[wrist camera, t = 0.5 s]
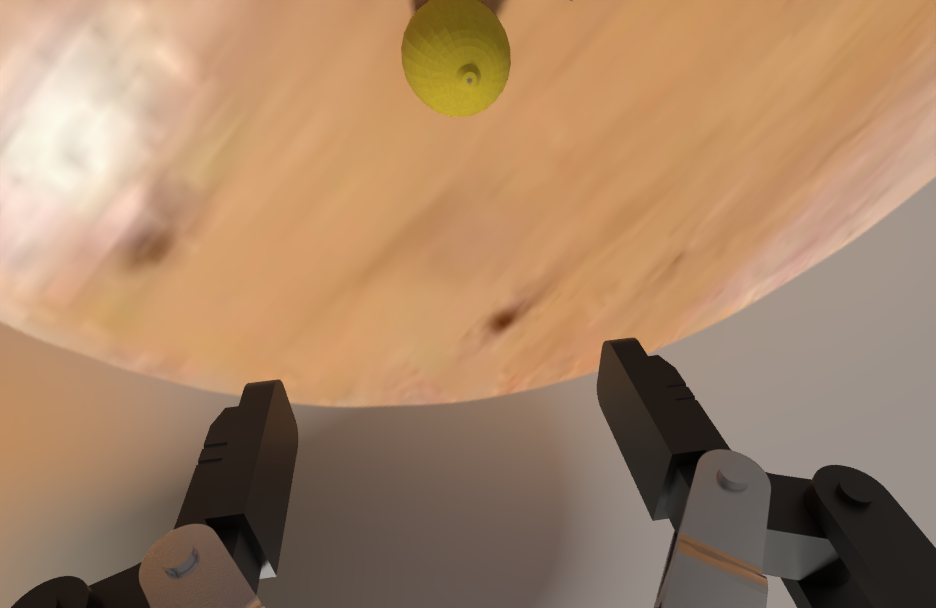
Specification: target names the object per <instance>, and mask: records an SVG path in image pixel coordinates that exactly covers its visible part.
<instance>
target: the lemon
mask: <svg viewBox="0 0 936 608" xmlns="http://www.w3.org/2000/svg"><path fill="white" fill-rule="evenodd" d="M401 50H402V65H403V69H404V72H405V76H406V79H407V81H408V83H409V85H410V86H411V88H412V90H413V92H414V93H415V94H416V96H417V97H418V98H419V99H420V100H421V101H422V102H423V103H424V104H425V105H427V106H428V107H430V108H431V109H433V110H435V111H436V112H438V113H441V114H444V115H448V116H451V117H466V116H471V115H475V114H477V113H479V112H481V111H483V110H485V109H486V108H488V107H489V106H490V105H491V104H492V103H493V102H495V101H496V99H497V98H498V97H499V95H500V94H501V92H502V91H503V89H504V87H505V84H506V82H507V80H508V75H509V70H510V65H511V61H510V46H509V42H508V39H507V35H506V32H505V30H504V28H503V26H502V25H501V23H500V21H499V19H498V18H497V16H496V15H495V14H494V13H493V12H492V11H491V10H490V9H489V8H488V7H487V6H486V5H485V4H483V3H481V2H479V1H477V0H430V1H428V2H427V3H426V4H424V5H423V6H422V7H420V8H419V9H418V11H417V12H416V13H415V14H414V16H413V17H412V18H411V19H410V21H409V24H408V26H407V28H406V30H405V32H404V37H403V42H402V49H401Z"/></svg>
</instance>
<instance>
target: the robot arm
mask: <svg viewBox="0 0 936 608" xmlns="http://www.w3.org/2000/svg"><path fill="white" fill-rule="evenodd" d="M597 395H598V400H599V404H600V407H601V409H602V412H603V414H604V416H605V418H606V420H607V423H608V425H609V427H610V429H611V431H612V433H613V435H614V438H615V440H616V442H617V444H618V446H619V449H620V451H621V453H622V455H623V457H624V459H625V462H626V464H627V466H628V468H629V470H630V472H631V475H632V477H633V479H634V481H635V483H636V485H637V488H638V490H639V492H640V494H641V496H642V499H643V501H644V503H645V505H646V507H647V509H648V511H649V514H650V516H651V518H652V520H653V521H654V520H661V519H668V518H669V519H670V521H671V523H672V526H673V527H674V530H675V531H674V533H673V537H672V541H671V544H670V548H669V552H668V556H667V559H666V563H665V567H664V571H663V575H662V578H661V582H660V586H659V590H658V593H657V597H656V601H655V605H654V608H766V604H767V594H768V581H767V578H766V577H765V576H763V575H762V574H765V575H771V576H776V577H781V579H782V581H783V583H784V585H785V586H786V588H787V590H788V592H789V594H790V595H791V597H792V599H793V601H794V602H795V604H796V606H797V608H936V548H935V547H934V546H933V544H932V543H931V542H930V541H929V540H928V538H926V536H925V535H924V534H923V532H922V531H921V530H920V529H919V528H918V526H917V525H916V524H915V523H914V522H913V521H912V519H911V518H910V517H909V516H908V515H907V513H906V512H905V511H904V510H903V508H902V507H901V506H900V505H899V504H898V502H897V501H896V500H895V499H894V498H893V496H892V495H891V494H890V493H889V492H888V491H887V490H886V488H884V486H883V485H881V484H880V483H879V482H878V481H877V480H875V479H874V478H872V477H871V476H869V475H867V474H865V473H863V472H861V471H859V470H857V469H854V468H851V467H847V466H841V465H829V466H825V467H822V468H820V469H819V470H818V471H817V472H816V473H815V475H814V477H813V479H812V480H811V479H804V478H797V477H790V476H783V475H775V474H771V473H767V472H765V471H764V470H763V469H762V468H761V467H760V466H759V465H758V464H757V463H756V462H755V461H753V460H752V459H750V458H749V457H747V456H745V455H743V454H741V453H738V452H735V451H732V450H731V449H730V448H729V447H728V445H727V444H726V442H725V441H724V439H723V438H722V437H721V435H720V433H719V432H718V430H717V429H716V427H715V426H714V424H713V423H712V422H711V420H710V419H709V417H708V416H707V414H706V413H705V411H704V410H703V408H702V407H701V405H700V404H699V402H698V401H697V400H695V396H694V395H693V393H692V392H691V391H690V389H689V388H688V387H686V383H685V381H684V380H683V379H682V377H681V376H680V374H679V373H678V371H677V370H676V368H675V367H673V366H672V365H671V364H669V363H668V362H667V361H665V360H664V359H663V358H661V357H660V356H659V355H654V356H647V354H646V352H645V351H644V349H643V348H642V346H641V345H640V343H639V341H638V340H637V339H636V338H625V339H617V340H609V341H605V342H604V343H603V346H602V352H601V359H600V366H599V373H598V380H597ZM297 449H298V429H297V424H296V420H295V417H294V414H293V412H292V409H291V406H290V403H289V400H288V397H287V394H286V391H285V388H284V386H283V383H282V382H281V380H271V381H262V382H254V383H248V384H246V386H245V387H244V390H243V394H242V397H241V400H240V403H239V406H237V407H229V408H225V409H224V410H223V412H222V413H221V414H220V415H219V416H218V417H217V419H216V420H215V421H214V422H213V423H212V425H211V426H210V428H209V431H208V434H207V437H206V440H205V443H204V449H202V451H201V454H200V457H199V460H198V465H196V468H195V471H194V474H193V477H192V480H191V483H190V485H189V488H188V491H187V494H186V497H185V499H184V502H183V505H182V508H181V511H180V514H179V516H178V519H177V522H176V525H175V527H174V529H173V530H172V531H171V532H169V533H167V534H166V535H164V536H163V537H162V538H160V539H159V540H158V541H157V542H156V543H155V544H154V545H153V546H152V547H151V548H150V550H149V551H148V552H147V554H146V555H145V557H144V559H143V561H142V562H141V563H139V564H137V565H135V566H133V567H131V568H129V569H127V570H124V571H122V572H120V573H118V574H115V575H113V576H110V577H108V578H106V579H103V580H101V581H99V582H97V583H95V584H92V585H90V586H88V585H87V584H86V583H85V582H84V581H83V580H81V579H80V578H77V577H73V576H64V577H58V578H54V579H51V580H49V581H46V582H44V583H42V584H40V585H38V586H36V587H35V588H33V589H32V590H30V591H29V592H28V593H26V594H25V595H24V596H22V597H21V598H20V599H19V600H18V601H17V602H16V603H15V604H14V605H13V606H12V607H11V608H264V606H263V605H262V604H261V603H260V601H259V599H258V598H257V596H256V594H257V589H258V584H259V579H262V578H269V577H275V576H276V575H277V569H278V563H279V557H280V551H281V545H282V539H283V533H284V527H285V521H286V515H287V509H288V503H289V497H290V491H291V484H292V479H293V473H294V466H295V461H296V455H297Z"/></svg>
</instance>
